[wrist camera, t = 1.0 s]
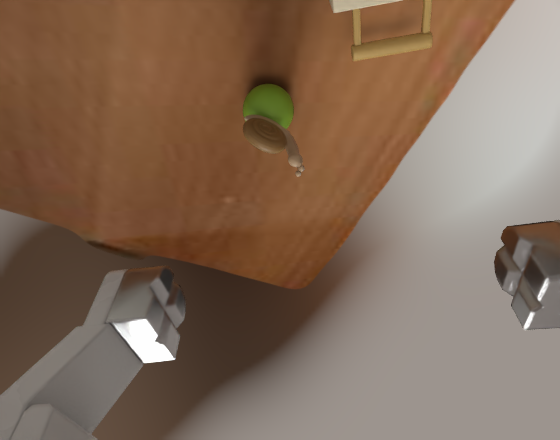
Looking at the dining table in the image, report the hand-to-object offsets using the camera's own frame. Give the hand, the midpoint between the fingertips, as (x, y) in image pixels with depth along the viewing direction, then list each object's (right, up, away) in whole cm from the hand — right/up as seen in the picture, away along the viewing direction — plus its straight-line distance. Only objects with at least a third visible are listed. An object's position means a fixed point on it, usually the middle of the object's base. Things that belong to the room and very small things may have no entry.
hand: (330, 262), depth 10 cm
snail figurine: (-2, +15, +34) cm, 37 cm away
